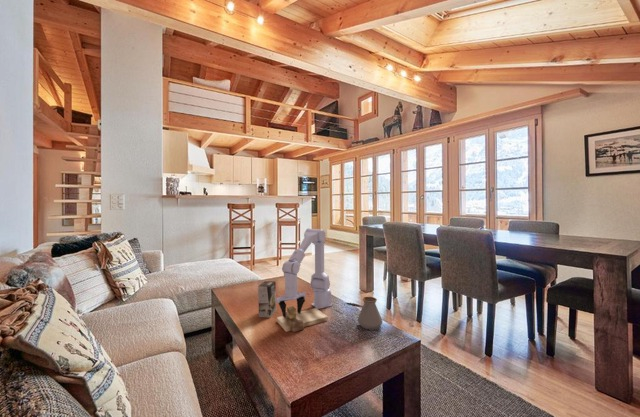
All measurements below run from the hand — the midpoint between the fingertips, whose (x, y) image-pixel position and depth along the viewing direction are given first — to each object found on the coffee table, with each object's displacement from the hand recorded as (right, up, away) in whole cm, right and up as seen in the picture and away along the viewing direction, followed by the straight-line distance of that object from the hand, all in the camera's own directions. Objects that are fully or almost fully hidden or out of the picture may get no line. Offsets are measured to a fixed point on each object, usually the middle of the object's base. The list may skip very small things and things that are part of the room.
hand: (291, 314), depth 128 cm
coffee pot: (+33, -5, -5) cm, 34 cm away
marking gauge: (0, -5, 0) cm, 5 cm away
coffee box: (-14, -5, +13) cm, 20 cm away
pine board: (+5, -5, +4) cm, 8 cm away
